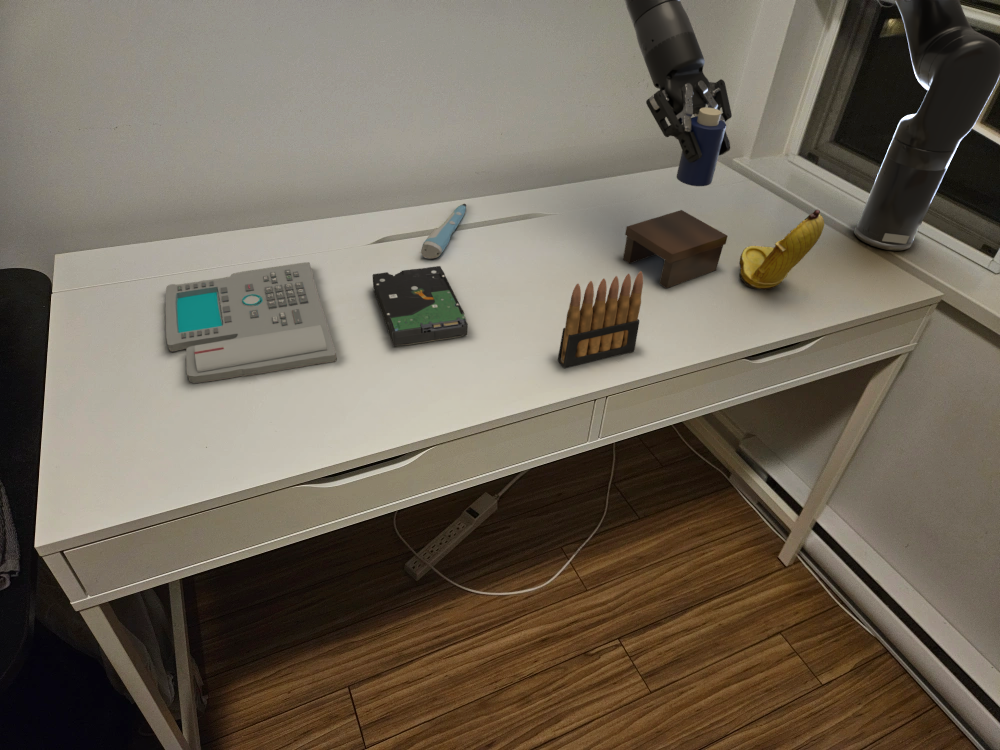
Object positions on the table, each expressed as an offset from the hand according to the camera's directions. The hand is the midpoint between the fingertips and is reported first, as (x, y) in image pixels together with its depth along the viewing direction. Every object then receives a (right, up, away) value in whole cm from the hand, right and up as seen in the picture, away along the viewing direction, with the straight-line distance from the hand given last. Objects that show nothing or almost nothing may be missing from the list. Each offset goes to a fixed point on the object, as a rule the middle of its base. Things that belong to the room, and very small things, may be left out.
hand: (710, 156), depth 99 cm
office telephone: (-64, -25, -6) cm, 69 cm away
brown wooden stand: (-3, -14, +11) cm, 18 cm away
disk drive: (-42, -23, -2) cm, 47 cm away
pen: (-39, -8, +16) cm, 43 cm away
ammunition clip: (-17, -29, -8) cm, 35 cm away
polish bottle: (-1, -2, +4) cm, 5 cm away
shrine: (+11, -18, +8) cm, 22 cm away
